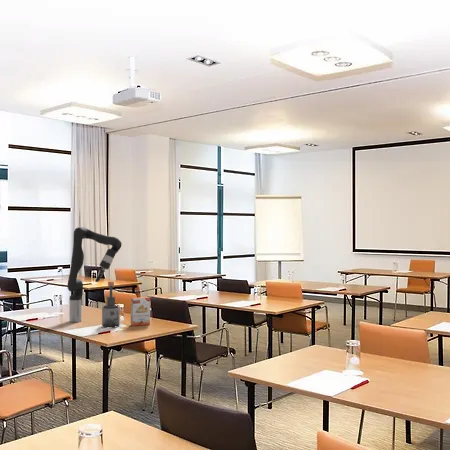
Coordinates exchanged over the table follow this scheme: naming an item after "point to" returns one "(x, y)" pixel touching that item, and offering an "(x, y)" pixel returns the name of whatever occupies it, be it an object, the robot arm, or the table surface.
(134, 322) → the cracker box
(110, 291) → the plunger
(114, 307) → the detonator box
